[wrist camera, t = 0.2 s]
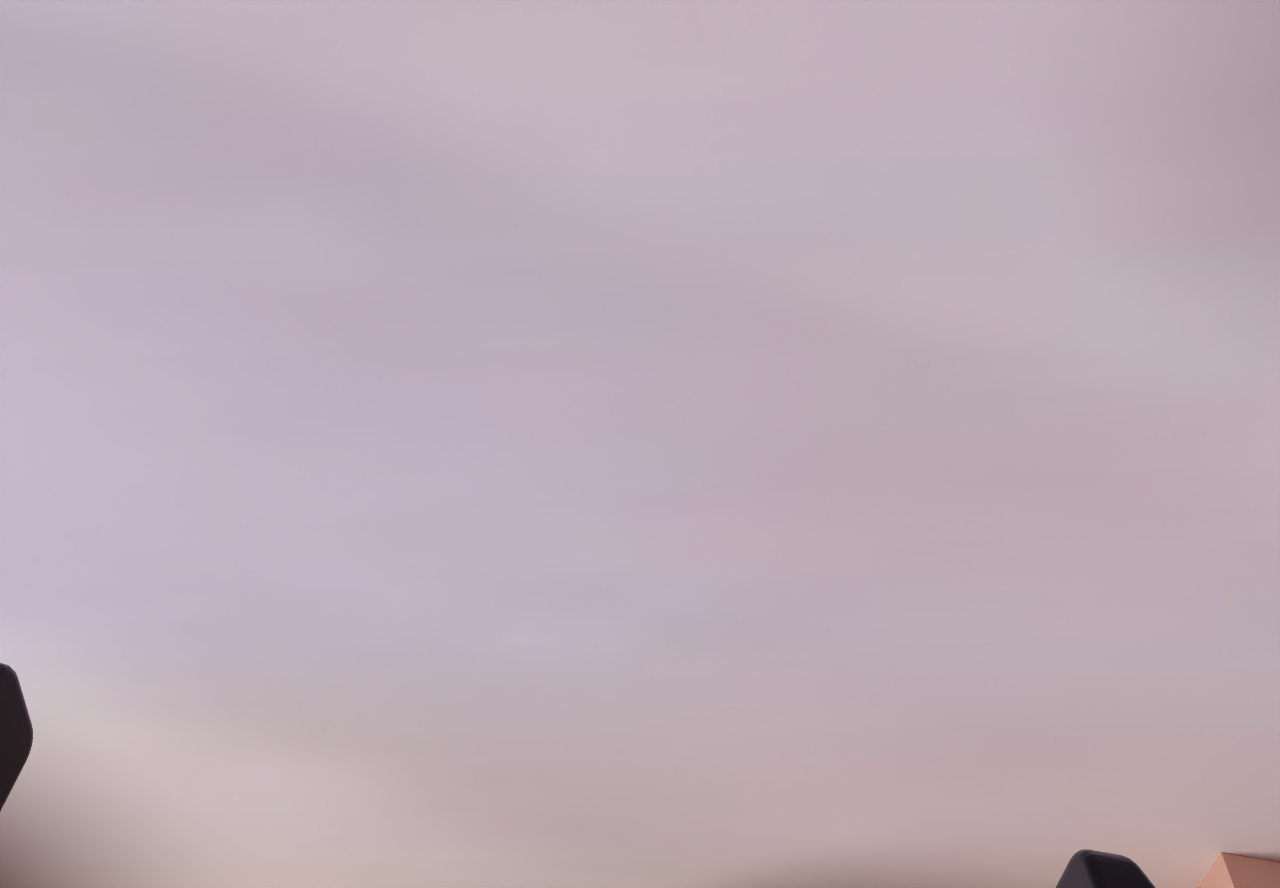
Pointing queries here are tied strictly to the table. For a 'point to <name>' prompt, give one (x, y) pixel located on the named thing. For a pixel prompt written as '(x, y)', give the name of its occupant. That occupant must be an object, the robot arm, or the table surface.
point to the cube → (1242, 873)
